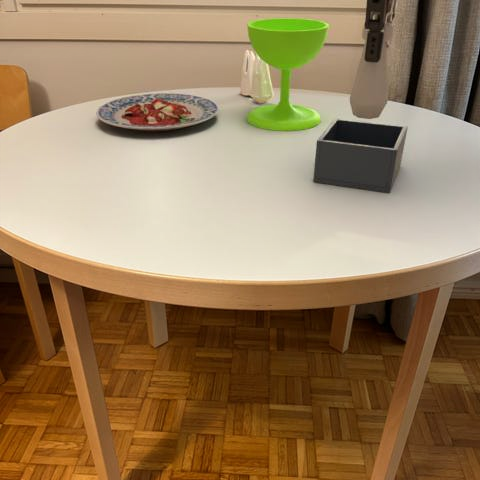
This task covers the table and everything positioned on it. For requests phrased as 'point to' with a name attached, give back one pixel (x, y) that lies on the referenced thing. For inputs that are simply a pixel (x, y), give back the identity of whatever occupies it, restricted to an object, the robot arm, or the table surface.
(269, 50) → the wineglass
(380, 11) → the robot arm
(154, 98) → the ceramic plate
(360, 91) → the salt shaker
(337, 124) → the tub
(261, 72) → the shaker set
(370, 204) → the table surface
